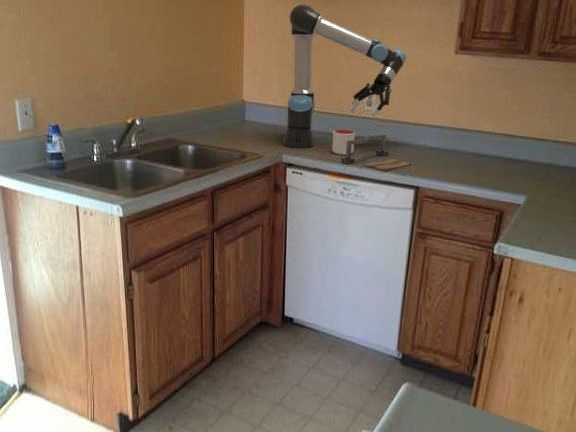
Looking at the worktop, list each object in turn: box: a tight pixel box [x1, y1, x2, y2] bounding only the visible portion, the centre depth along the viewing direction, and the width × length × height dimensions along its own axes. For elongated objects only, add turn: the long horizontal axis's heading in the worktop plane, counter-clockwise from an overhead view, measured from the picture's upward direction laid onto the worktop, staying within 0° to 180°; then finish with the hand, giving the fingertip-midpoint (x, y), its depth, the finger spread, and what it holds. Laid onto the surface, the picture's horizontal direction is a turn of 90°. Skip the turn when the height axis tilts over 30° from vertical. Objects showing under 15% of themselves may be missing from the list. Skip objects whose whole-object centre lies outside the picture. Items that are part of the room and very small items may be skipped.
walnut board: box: [364, 158, 412, 172], centre depth 236 cm, size 11×18×1 cm, turn 132°
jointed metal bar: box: [341, 134, 389, 165], centre depth 244 cm, size 5×28×10 cm, turn 132°
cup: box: [331, 129, 356, 156], centre depth 254 cm, size 10×10×10 cm
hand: (362, 113), depth 256 cm, fingers open, 13 cm apart
